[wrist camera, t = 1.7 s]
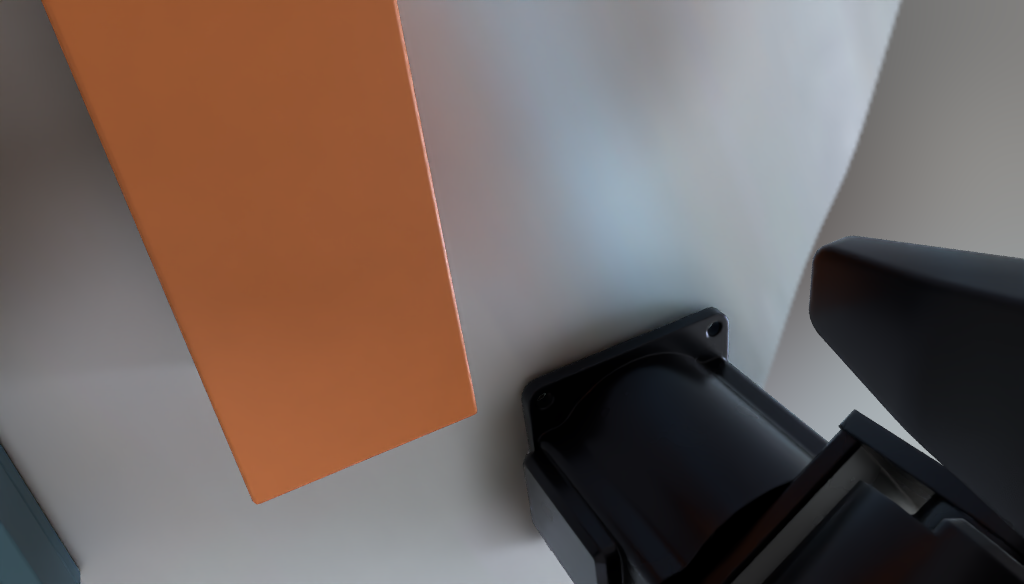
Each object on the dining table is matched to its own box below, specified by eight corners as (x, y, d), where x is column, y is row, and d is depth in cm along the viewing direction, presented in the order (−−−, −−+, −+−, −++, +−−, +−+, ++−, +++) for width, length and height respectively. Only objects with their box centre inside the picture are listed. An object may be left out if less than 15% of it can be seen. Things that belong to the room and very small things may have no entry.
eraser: (272, -198, 14) (358, -205, 10) (393, 297, 19) (480, 418, 15) (2, -155, 13) (-21, -144, 9) (212, 362, 18) (256, 512, 14)
